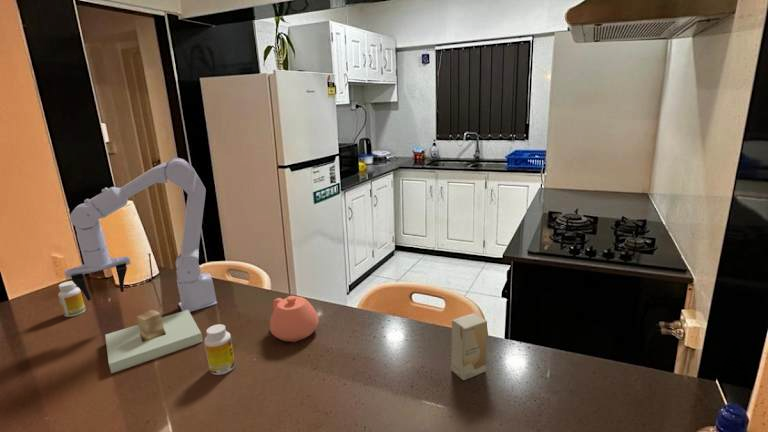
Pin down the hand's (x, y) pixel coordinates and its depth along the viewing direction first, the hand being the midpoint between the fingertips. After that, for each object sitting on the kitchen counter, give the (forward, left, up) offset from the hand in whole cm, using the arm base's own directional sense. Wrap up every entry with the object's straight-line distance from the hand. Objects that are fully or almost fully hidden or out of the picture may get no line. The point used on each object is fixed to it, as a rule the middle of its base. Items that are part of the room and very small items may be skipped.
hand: (106, 294), depth 114 cm
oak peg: (-8, +18, -9) cm, 22 cm away
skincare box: (-61, +77, -10) cm, 99 cm away
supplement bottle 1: (+9, -17, -10) cm, 21 cm away
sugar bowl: (-38, +37, -10) cm, 54 cm away
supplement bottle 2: (-19, +41, -10) cm, 46 cm away
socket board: (-8, +18, -9) cm, 22 cm away
